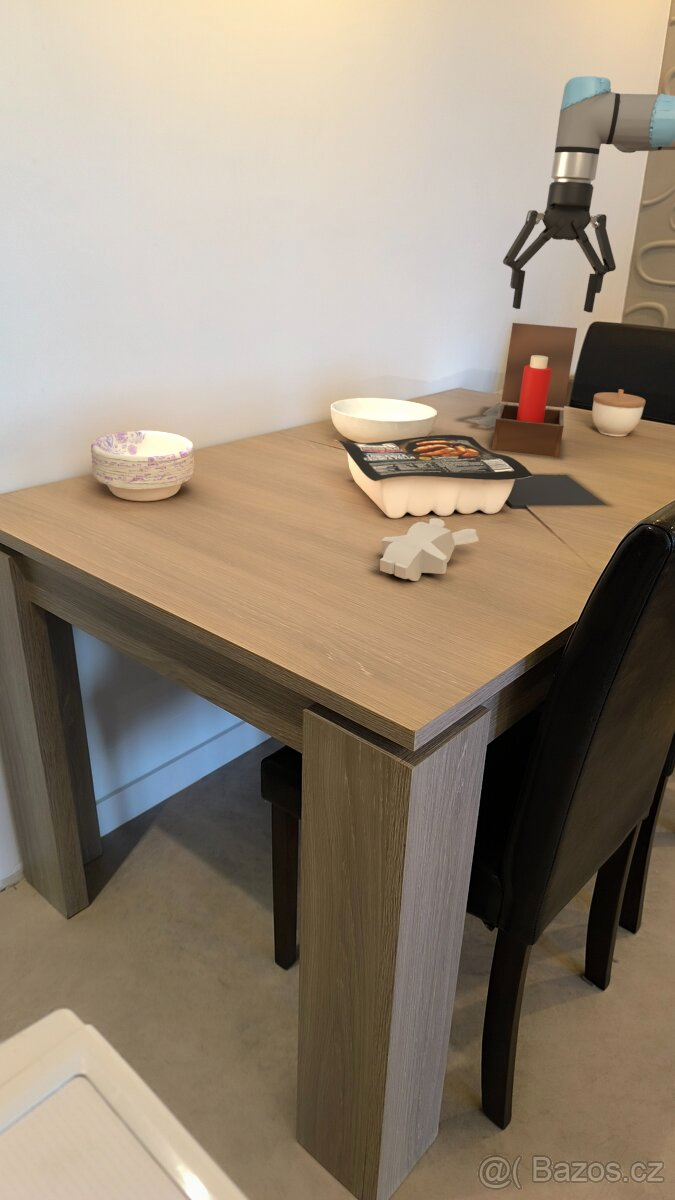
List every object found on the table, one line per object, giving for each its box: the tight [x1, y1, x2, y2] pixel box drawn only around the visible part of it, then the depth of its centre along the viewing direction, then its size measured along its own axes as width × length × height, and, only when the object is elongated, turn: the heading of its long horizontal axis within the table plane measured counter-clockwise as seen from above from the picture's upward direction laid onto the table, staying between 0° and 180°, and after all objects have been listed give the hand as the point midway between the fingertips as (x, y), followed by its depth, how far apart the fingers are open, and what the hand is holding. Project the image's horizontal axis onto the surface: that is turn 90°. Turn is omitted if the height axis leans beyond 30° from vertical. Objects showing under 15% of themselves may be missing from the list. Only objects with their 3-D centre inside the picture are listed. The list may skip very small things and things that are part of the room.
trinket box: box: [591, 388, 646, 437], centre depth 179 cm, size 11×11×9 cm
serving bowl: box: [330, 397, 438, 443], centre depth 162 cm, size 21×21×7 cm
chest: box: [491, 403, 565, 458], centre depth 164 cm, size 15×13×7 cm
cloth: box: [466, 402, 509, 429], centre depth 186 cm, size 26×14×2 cm, turn 148°
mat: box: [505, 474, 607, 509], centre depth 139 cm, size 16×16×1 cm
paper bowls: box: [90, 430, 195, 502], centre depth 127 cm, size 15×15×8 cm
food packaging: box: [334, 434, 534, 519], centre depth 131 cm, size 25×8×23 cm
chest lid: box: [501, 322, 578, 409], centre depth 167 cm, size 15×13×1 cm
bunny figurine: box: [379, 517, 480, 582], centre depth 107 cm, size 10×5×15 cm
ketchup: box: [517, 355, 552, 423], centre depth 161 cm, size 5×5×17 cm
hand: (552, 310), depth 153 cm, fingers open, 13 cm apart
